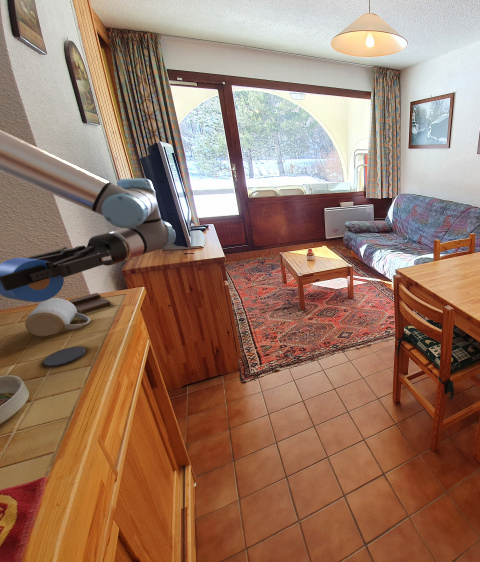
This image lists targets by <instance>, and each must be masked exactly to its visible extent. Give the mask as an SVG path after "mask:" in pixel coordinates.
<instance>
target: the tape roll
mask: <svg viewBox="0 0 480 562" xmlns="http://www.w3.org/2000/svg"><path fill="white" fill-rule="evenodd" d="M45 262H48V261H44V260H36V259H28V258H27V257H13V258H10V259H7V260H4V261H2V262H1V263H0V276H2V275H6V274H10V273H13V272H17V271H21V270H24V269H28V268H32V267H35V266H39V265H44V266H45V268H47V266H46V264H45ZM64 282H65V277H61V275H60V276H58V277H51V276H49V278H47V279H44V280H41V281H37V282H34V283H31V284H28V285H25V286H21V287H18V288H15V289H12V290H9V291H6V290H4V288H3V286H2V284H1V282H0V296H2V297H4V298H7V299H10V300H11V299H12V300H17V301H23V302H30V303H41V302H42V301H45V300H48V299H50V298H55V297H56V296H57V295H58V294H59V293H60V291H61V290H62V288H63V286H64Z"/></svg>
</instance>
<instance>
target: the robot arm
mask: <svg viewBox="0 0 480 562" xmlns="http://www.w3.org/2000/svg"><path fill="white" fill-rule="evenodd" d="M0 173H1V174H2V175H6V176H8V177H11V178H13V179H15V180H18V181H20V182H22V183H25V184H27V185H28V186H29V185H30V186H31V187H34V188H37V189H39V190H41V191H44V192H46V193H48V194H51V195H54V196H55V197H58V198H61V199H63V200H65V201H68V202H70V203H72V204H75V205H77V206H79V207H82V208H85V209H87V210H90V212H91V211H92V212H93V213H97V214H98V215H100V216H103V218H104V219H105V220H106V221H107V222H108V223H109V224H111V225H112V226H114V227H116V228H120V229H117V230H113V231H109V232H105V233H101V234H97V235H93V236H91V237H90V238H89V239H88V243H87V245H78V246H75V247H73V248H69V247H68V246H63V247H62V248H58V249H56V250H51V251H46V252H43V253H39V254H35V255H31V256H26V258H28V259H36V260H44V261H48V262H45V264H46V266H47V268H45V266H44V265H39V266H35V267H32V268H28V269H24V270H21V271H17V272H13V273H10V274H6V275H2V276H0V282H1V284H2V286H3V288H4V290H6V291H9V290H12V289H15V288H18V287H21V286H25V285H28V284H31V283H34V282H37V281H41V280H44V279H47V278H49V276H51V277H58V276H60V275H61V277H64V278H67V277H70V276H73V275H77V274H78V273H82V272H86V271H88V270H91V269H94V268H97V267H100V266H101V267H102V266H107V267H108V266H113V265H116V264H119V263H122V262H124V261H128V260H129V261H134V259H135V258H136V257H139V256H143V255H146V254H150V253H152V252H155V251H159V250H163V249H165V248H167V247H169V246H171V245H172V244H174V243H175V241H176V238H177V237H176V236H177V235H176V231H175V229H174V228H173V226H172V225H171V224H170V223H169V222H167V221H165V220H163V219H162V216H161V213H160V208H159V205H158V201H157V196H156V190H155V189H154V185H153V182H152V181H151V180H150V179H148V178H143V177H140V178H139V177H138V178H137V177H136V178H135V177H134V178H122V179H118V180H117V182H116V184H115V183H113V182H111V181H109V180H107V179H105V178H103V177H101V176H98V175H96V174H95V173H91V172H90V171H88V170H86V169H84V168H81V167H79V166H77V165H75V164H73V163H71V162H69V161H67V160H65V159H63V158H61V157H58V156H57V155H54V154H52V153H51V152H48V151H46V150H43V149H42V148H39V147H37V146H35V145H33V144H31V143H29V142H27V141H25V140H23V139H21V138H19V137H16V136H15V135H12V134H10V133H8V132H6V131H4V130H1V129H0Z"/></svg>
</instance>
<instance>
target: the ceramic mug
mask: <svg viewBox="0 0 480 562" xmlns="http://www.w3.org/2000/svg"><path fill="white" fill-rule="evenodd" d="M75 319H78V320H83V321H85V322H83V323H79V324H78V323H77V324H76V323H75V324H74V323H73V324H72V322H73V321H74V320H75ZM90 322H91V319H90V317H89V316H88V315H86V314H85V313H81V312H78V309H76V307H75V306H74V305H73V304H72V303H71V302H70V301H69V300H66V299H64V298H59V297H52V298H50V299H48V300H45V301H41V302H38V304H37V306H35V308H34V309H33V310H32V311H31V312H30V314H29V315H28V316H27V318H26V320H25V328H26V330H27V331H28V332H29V333H30V334H32V335H33V336H36V337H47V336H53V335H57V334H60V333H63V331H65V330H75V329H80V328H83V327H84V326H86V325H88V324H89V323H90Z"/></svg>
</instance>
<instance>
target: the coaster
mask: <svg viewBox="0 0 480 562" xmlns="http://www.w3.org/2000/svg"><path fill="white" fill-rule="evenodd" d="M85 354H86V348H84V347H82V346H73V347H67V348H63V349H60V350H58V351H56V352H54V353H51V354H49V355H48V356H46V357H45V358H44V360H43V365H44V366H45V367H48V368H56V367H62V366H65V365H68V364H71V363H73V362H75V361H78V360H79V359H81V358H82V357H83V356H84V355H85Z"/></svg>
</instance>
